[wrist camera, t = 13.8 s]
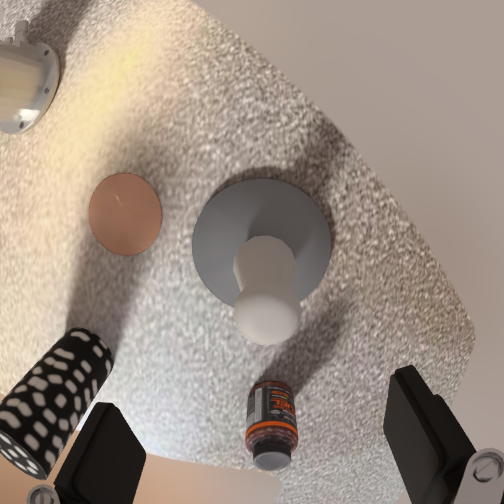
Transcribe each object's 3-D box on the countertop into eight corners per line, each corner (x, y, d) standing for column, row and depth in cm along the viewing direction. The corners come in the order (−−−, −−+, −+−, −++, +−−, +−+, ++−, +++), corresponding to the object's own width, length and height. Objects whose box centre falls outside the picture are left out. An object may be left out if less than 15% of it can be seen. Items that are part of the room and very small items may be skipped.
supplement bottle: (302, 389, 37) (312, 455, 26) (277, 415, 38) (280, 480, 27) (262, 372, 36) (263, 441, 25) (239, 401, 37) (234, 467, 26)
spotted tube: (84, 318, 35) (-7, 416, 15) (124, 366, 36) (60, 479, 17) (54, 340, 36) (-25, 427, 17) (91, 383, 38) (29, 480, 18)
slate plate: (181, 192, 30) (179, 193, 29) (319, 168, 29) (321, 168, 28) (209, 316, 34) (208, 320, 33) (334, 297, 33) (336, 301, 32)
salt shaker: (238, 287, 32) (226, 363, 19) (231, 233, 30) (212, 283, 18) (295, 282, 31) (316, 355, 19) (291, 227, 30) (313, 272, 17)
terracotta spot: (83, 184, 30) (81, 184, 30) (152, 164, 29) (151, 164, 29) (101, 260, 32) (99, 261, 32) (170, 247, 32) (169, 248, 32)
